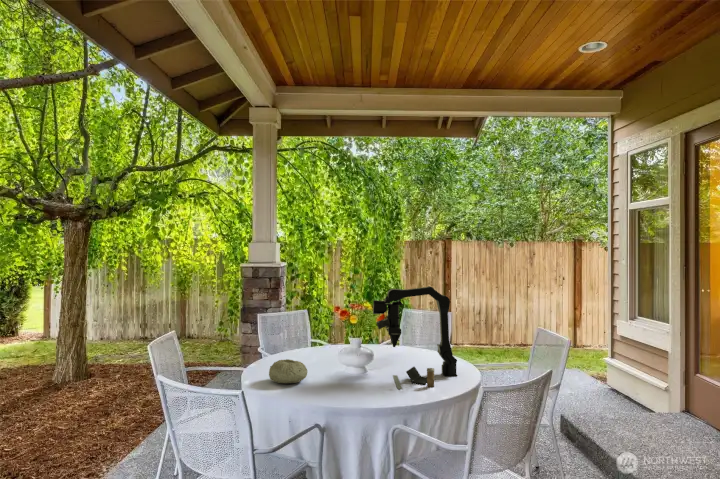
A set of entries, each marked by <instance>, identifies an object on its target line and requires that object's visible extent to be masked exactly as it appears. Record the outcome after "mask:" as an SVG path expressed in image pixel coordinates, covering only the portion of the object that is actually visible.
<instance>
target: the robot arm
mask: <svg viewBox="0 0 720 479" xmlns="http://www.w3.org/2000/svg"><path fill="white" fill-rule="evenodd" d="M386 294H387V296H385V298H384V300H377V299H375V300H373V306H372V314H373V315H385V313H386V312H387V315H386V318H384V319H383V318H382V319H381V320H378V321H376V322H375V323H376V325H377V329H378V330H382V328H385V329H386V331H387V334H388V335H389V338H390V343H391V344H392V347H393V348H396V346H397V343H398V341H399V340H400V337H401V335H402V328H400V318H401V317H400V306H403V305H404V304H403V303H402V302H401V300H403V299H405V298H410V297H419V296H428V295H429V296H430V297H431V298H432V299H434V300H435V301H436V305H437V309H438V313H439V328H440V329H439V330H440V342H439V343H437V354H438V355H439V356H440V358H441V359H442V360H443V361H442V364H441V374H442V375H443V376H444V377H458V374H457V362H458V360H457V358H456V357H455V356H453V355H454V354H453V350H452V346H451V342H450V332H449V330H450V329H449V312H450V311H449V310H450V306H451V299H450V298H449V296H448V295H447V296H446V295H444V294H441V293H440V292H439V291H437V289H435V288H434V287H433V286H425V287H416V288H407V289H403V288H391V289H389V290H388V291H387V293H386Z"/></svg>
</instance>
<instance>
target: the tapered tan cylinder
mask: <svg viewBox="0 0 720 479" xmlns="http://www.w3.org/2000/svg"><path fill="white" fill-rule="evenodd" d="M426 377H427V384H426V387H427V388H430V389H431V388H435V368H433V367H428V368H427V367H426Z"/></svg>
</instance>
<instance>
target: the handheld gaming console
mask: <svg viewBox="0 0 720 479" xmlns="http://www.w3.org/2000/svg"><path fill="white" fill-rule="evenodd" d="M405 372H406V374H407V375H408V377H409V379H410V380H411V383H412V384H414V385H419V384H420V385H419V386H425V385H427V384H426V383H427V376H422V375H421V374H420V372H419V371H418V370H417V368H416V367H415V366H412V367H411V368H410V369H408V370H406V371H405Z"/></svg>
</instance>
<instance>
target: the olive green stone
mask: <svg viewBox="0 0 720 479" xmlns="http://www.w3.org/2000/svg"><path fill="white" fill-rule="evenodd" d="M307 375H308V368H307V366H306V365H305V364H304V363H303V362H301V361H299V360H294V359H287V358H286V359H279V360H276V361H274V362H273V364H272V365H271V366H270V367H269V371H268V377H269V379H270V381H272V382H274V383H278V384H296V383H299V382H300V383H301V382H302V381H303V380H304V379H306V377H307Z"/></svg>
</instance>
